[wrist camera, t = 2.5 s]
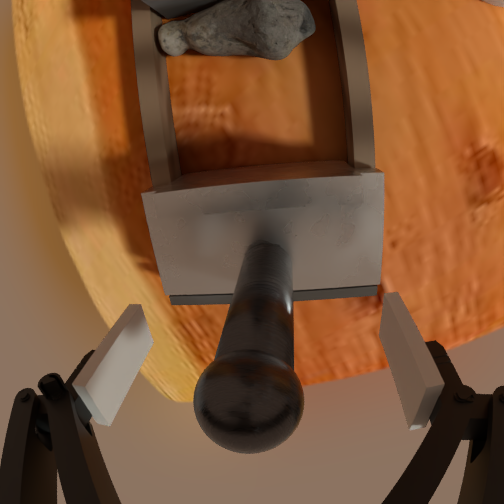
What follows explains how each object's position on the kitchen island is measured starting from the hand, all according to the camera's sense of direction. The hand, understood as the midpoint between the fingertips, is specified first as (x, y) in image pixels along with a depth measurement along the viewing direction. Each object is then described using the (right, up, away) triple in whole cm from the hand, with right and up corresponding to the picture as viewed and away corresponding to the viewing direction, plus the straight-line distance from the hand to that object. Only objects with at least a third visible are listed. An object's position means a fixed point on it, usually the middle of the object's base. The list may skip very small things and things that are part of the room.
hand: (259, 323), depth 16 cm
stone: (-1, +20, +3) cm, 20 cm away
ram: (+1, +6, +8) cm, 11 cm away
